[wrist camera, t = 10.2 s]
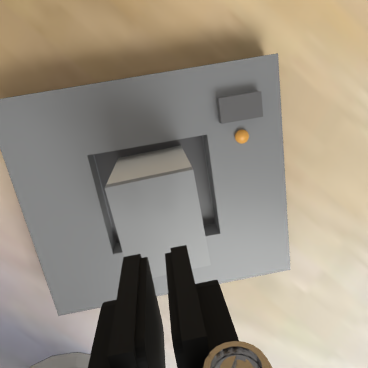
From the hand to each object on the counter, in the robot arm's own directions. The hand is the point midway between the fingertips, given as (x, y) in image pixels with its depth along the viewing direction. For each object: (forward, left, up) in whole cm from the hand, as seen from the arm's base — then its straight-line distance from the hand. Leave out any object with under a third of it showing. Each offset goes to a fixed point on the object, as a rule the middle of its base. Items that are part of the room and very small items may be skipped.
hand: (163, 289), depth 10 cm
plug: (0, 0, -11) cm, 11 cm away
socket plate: (0, 0, -11) cm, 11 cm away
